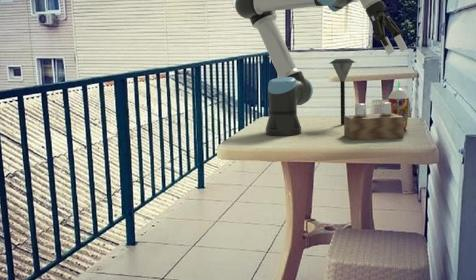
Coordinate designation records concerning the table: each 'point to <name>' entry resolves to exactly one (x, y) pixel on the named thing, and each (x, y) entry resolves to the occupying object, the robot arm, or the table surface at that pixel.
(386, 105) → the peg
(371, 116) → the block
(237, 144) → the table surface
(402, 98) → the smoothie
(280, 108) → the robot arm
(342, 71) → the solar garden light
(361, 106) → the peg
